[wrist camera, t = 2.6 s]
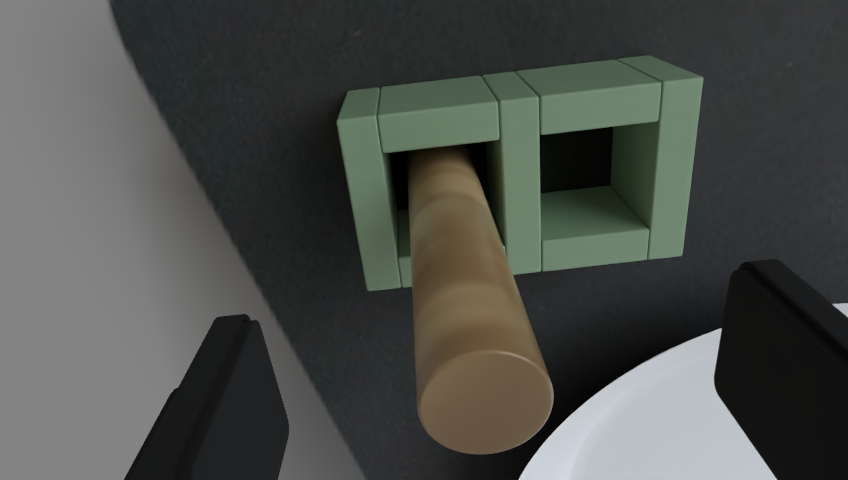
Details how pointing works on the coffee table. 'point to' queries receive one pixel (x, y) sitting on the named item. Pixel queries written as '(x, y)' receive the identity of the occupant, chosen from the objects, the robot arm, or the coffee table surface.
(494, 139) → the holder
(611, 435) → the white plate
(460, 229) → the stick
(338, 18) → the coffee table surface
